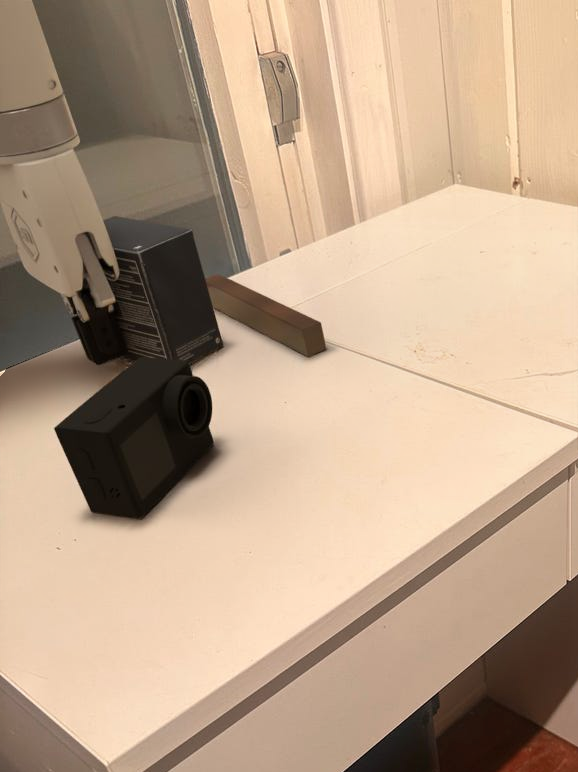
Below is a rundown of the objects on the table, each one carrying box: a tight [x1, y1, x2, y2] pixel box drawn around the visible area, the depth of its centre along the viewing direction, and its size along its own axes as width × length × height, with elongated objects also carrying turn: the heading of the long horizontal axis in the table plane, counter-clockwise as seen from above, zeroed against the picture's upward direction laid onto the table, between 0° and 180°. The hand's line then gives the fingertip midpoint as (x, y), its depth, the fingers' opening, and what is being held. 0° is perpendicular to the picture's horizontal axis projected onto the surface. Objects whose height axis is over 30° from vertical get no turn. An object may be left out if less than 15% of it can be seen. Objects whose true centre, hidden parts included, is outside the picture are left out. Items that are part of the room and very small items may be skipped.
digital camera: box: [53, 357, 215, 519], centre depth 65 cm, size 10×5×7 cm, turn 162°
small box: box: [99, 215, 224, 365], centre depth 81 cm, size 11×6×10 cm, turn 56°
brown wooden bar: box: [205, 273, 327, 358], centre depth 85 cm, size 18×2×2 cm, turn 42°
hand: (108, 356), depth 81 cm, fingers closed
